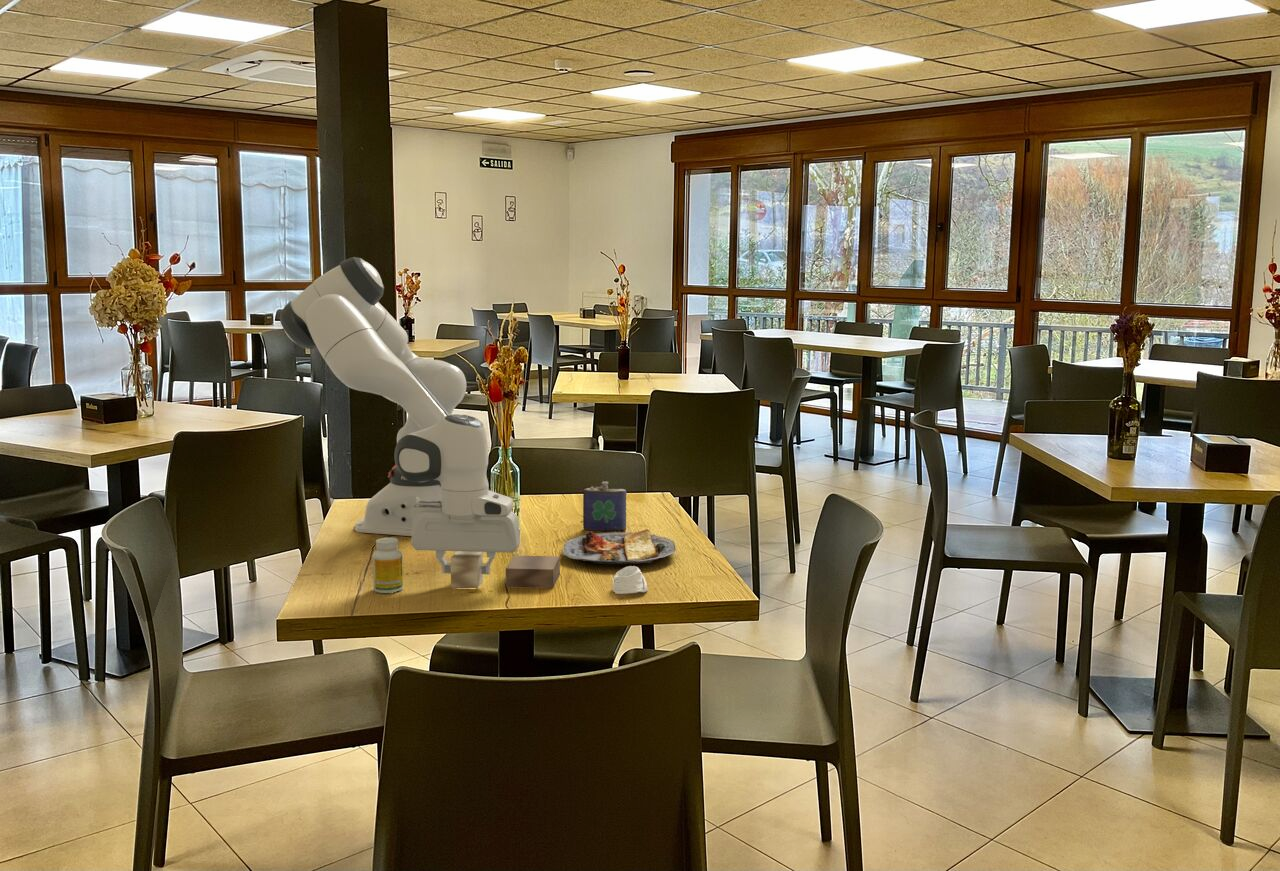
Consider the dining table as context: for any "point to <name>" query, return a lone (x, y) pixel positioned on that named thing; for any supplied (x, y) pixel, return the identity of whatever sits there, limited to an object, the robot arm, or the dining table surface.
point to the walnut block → (533, 571)
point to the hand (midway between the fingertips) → (466, 573)
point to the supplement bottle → (387, 566)
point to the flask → (604, 509)
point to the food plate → (619, 547)
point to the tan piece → (466, 569)
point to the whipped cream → (629, 581)
